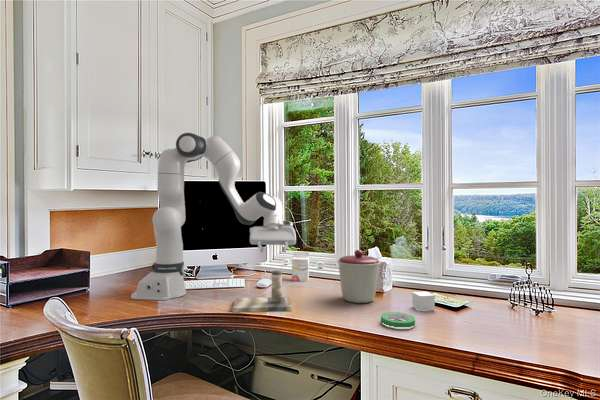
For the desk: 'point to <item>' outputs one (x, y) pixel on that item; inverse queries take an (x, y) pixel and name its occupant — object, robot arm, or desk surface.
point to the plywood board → (261, 304)
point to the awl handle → (276, 287)
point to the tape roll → (397, 315)
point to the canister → (358, 277)
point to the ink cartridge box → (300, 266)
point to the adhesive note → (423, 301)
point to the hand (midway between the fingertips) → (272, 251)
